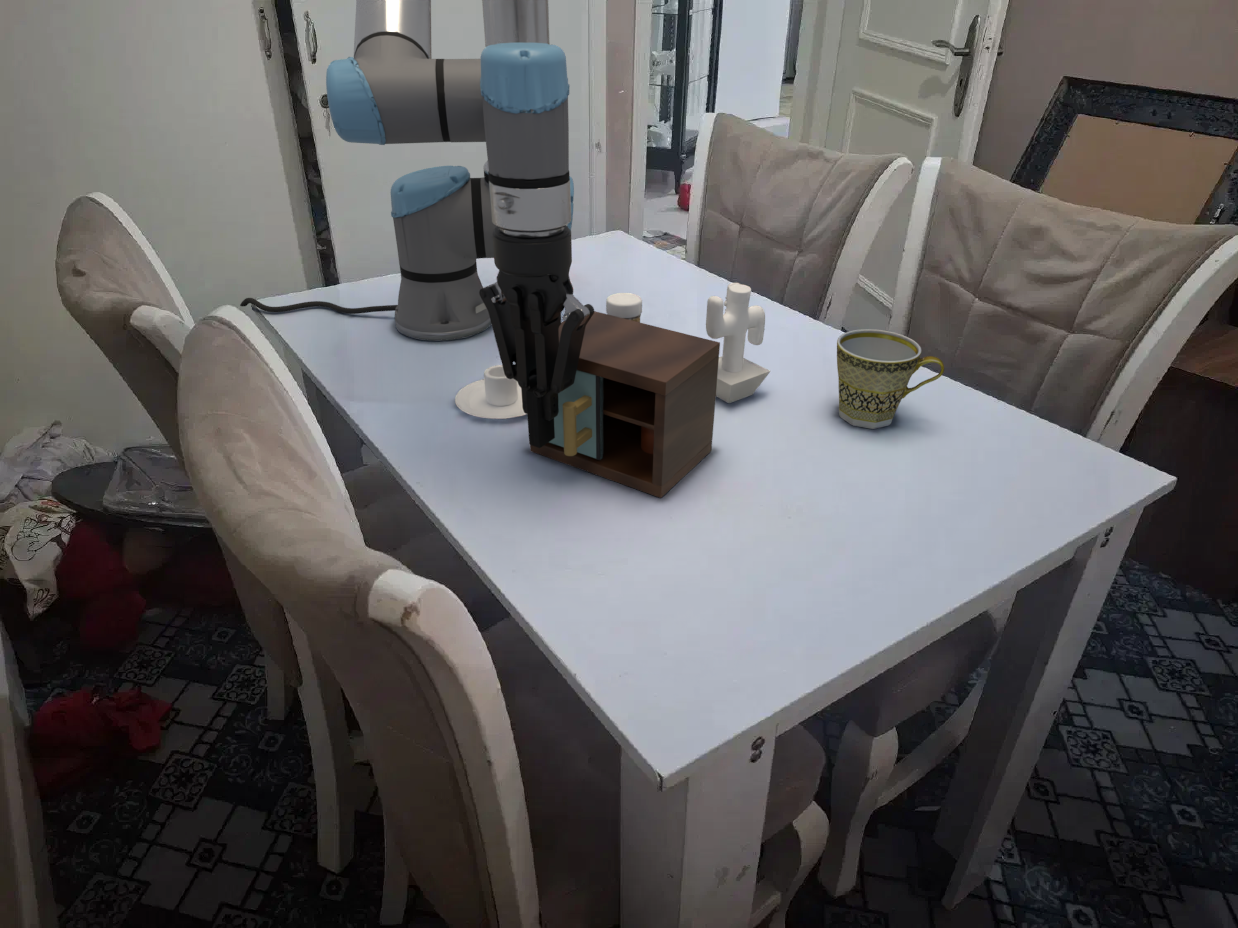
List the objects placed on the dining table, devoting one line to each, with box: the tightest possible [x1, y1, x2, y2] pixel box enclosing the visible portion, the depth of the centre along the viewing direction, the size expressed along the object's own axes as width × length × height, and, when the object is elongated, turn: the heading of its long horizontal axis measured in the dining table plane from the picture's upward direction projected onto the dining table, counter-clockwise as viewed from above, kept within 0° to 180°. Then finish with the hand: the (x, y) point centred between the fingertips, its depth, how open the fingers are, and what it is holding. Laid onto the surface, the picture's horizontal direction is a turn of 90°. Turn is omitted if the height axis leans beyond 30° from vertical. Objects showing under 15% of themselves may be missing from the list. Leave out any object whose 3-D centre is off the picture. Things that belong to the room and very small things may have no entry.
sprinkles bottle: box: [605, 292, 643, 323], centre depth 107 cm, size 5×5×14 cm
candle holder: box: [454, 364, 527, 420], centre depth 107 cm, size 12×12×4 cm
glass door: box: [550, 370, 603, 460], centre depth 90 cm, size 8×5×10 cm, turn 57°
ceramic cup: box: [836, 328, 945, 430], centre depth 102 cm, size 13×10×10 cm
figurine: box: [705, 282, 771, 404], centre depth 106 cm, size 7×9×15 cm
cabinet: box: [529, 310, 721, 499], centre depth 93 cm, size 18×12×14 cm, turn 57°
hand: (542, 441), depth 90 cm, fingers closed
